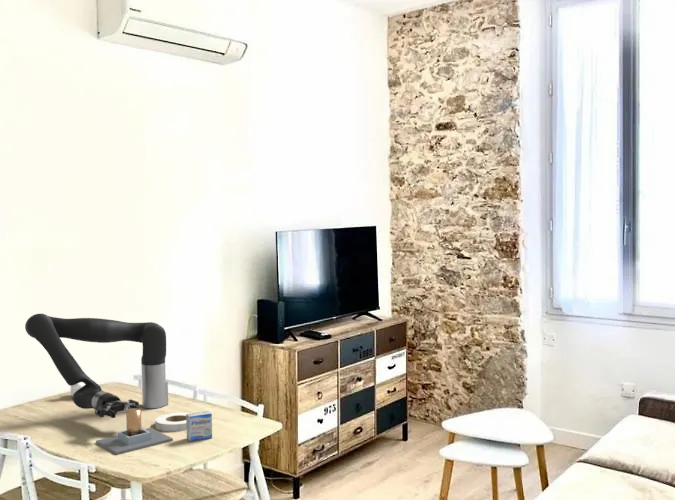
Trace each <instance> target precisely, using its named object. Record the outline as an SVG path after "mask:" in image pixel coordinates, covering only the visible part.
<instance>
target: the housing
mask: <svg viewBox="0 0 675 500" xmlns="http://www.w3.org/2000/svg"><path fill="white" fill-rule="evenodd" d="M141 428H142V434H139V435H134V436H130V437H129V436H127V429H124V430H121V431H117V432H116V433H117V434H116V435H114V436H110V437H107V438H101V439H97V440H95V443H96V445H99V446H100V447H102V448H104V449H106V450H107V451H109V452H111V453H113V454H114V455H116V456H118V455H122V454H125V453H130V452H133V451H137V450H142V449H145V448H146V449H147V448H149V447H153V446H157V445H161V444H165V443H169V442H173V441H174V439H173V438H172V437H170V436H169V435H167V434H165V433H162V432H160V431H158V430H156V429H153V428H152V427H148V428H143V427H141Z"/></svg>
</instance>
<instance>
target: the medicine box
mask: <svg viewBox="0 0 675 500" xmlns="http://www.w3.org/2000/svg"><path fill="white" fill-rule="evenodd" d="M189 413H190V414H186V426H187V430H186V439H187V440H188V441H189V442H197V441H202V440H208V439H212V438H213V416H212V415H213V414H212V413H211V412H210V411H209V410H207V411H206V410H205V411H198V412H189Z"/></svg>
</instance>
